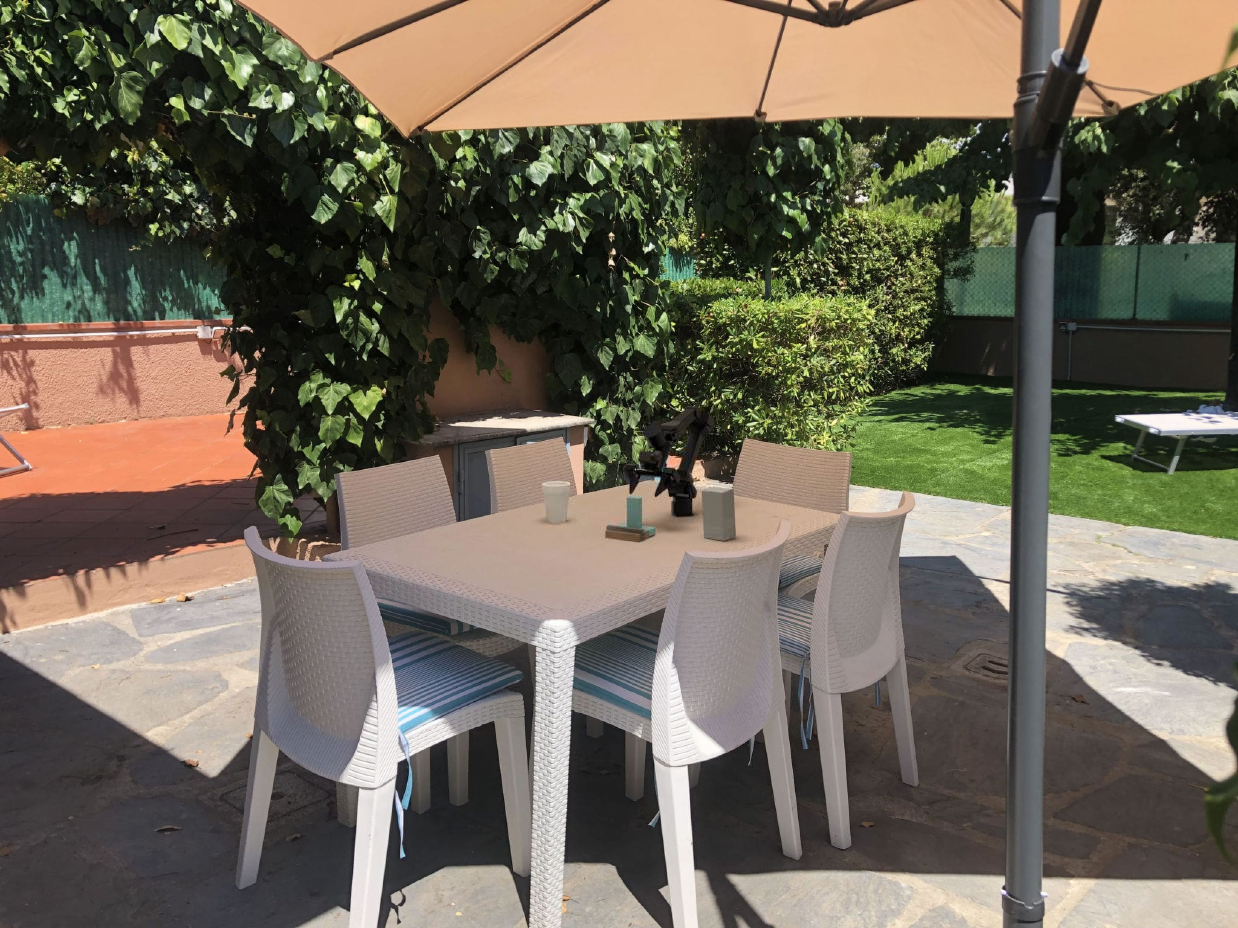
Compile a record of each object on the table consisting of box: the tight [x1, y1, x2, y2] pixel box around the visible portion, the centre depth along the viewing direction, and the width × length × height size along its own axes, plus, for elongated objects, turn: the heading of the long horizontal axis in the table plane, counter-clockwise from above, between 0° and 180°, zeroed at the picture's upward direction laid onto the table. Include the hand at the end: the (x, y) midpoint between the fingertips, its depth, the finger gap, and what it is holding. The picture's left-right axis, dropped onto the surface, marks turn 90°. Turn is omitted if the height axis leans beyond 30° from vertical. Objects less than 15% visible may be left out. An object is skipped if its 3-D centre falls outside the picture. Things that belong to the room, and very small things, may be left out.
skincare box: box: [701, 486, 737, 542], centre depth 306 cm, size 8×7×16 cm
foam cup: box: [541, 480, 571, 525], centre depth 332 cm, size 10×9×13 cm
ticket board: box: [604, 524, 650, 543], centre depth 309 cm, size 6×13×4 cm, turn 60°
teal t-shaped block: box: [617, 496, 657, 537], centre depth 313 cm, size 4×12×12 cm, turn 60°
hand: (642, 495), depth 316 cm, fingers open, 9 cm apart
